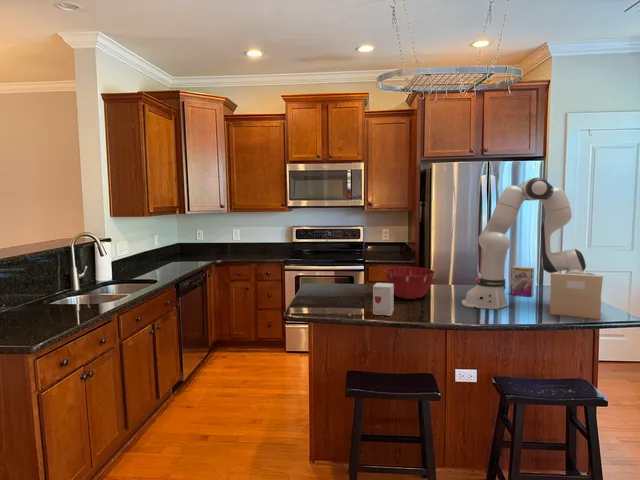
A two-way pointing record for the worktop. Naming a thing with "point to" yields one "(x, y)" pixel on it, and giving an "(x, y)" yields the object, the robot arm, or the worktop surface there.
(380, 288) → the supplement box
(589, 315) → the carton
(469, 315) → the worktop surface
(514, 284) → the candy bar box
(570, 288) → the carton flap
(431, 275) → the mixing bowl
